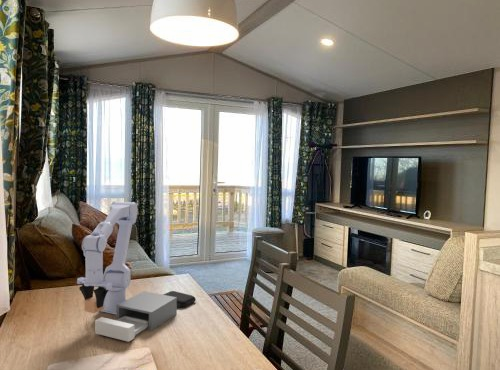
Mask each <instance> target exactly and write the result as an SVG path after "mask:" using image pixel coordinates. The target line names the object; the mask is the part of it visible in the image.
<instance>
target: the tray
mask: <svg viewBox="0 0 500 370" xmlns="http://www.w3.org/2000/svg"><path fill="white" fill-rule="evenodd" d="M147 327H149V321H147V320H143V319H138V318H134V317H129V316H123V317H121V318H119V319H117V320H116V319H111V318H107V317H103V316H100V317H99V318H97V319H95V320H94V330H95V331H94V333H95V334H97V335H100V336H105V337H109V338H113V339H117V340H121V341H124V342H130V341H132V340H133V339H135V338H136V337H135V336H136V335H138V334H140V333H141V332H142V331H144V330H147V329H146V328H147Z"/></svg>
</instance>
